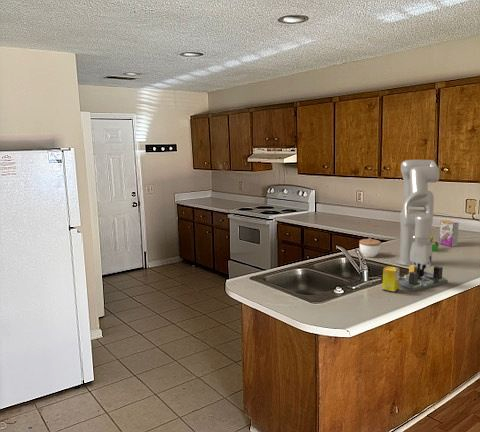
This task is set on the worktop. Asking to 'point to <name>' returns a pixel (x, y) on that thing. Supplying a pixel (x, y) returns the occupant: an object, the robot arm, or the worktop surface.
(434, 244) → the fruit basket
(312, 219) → the worktop surface
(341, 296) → the worktop surface
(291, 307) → the worktop surface
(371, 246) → the lidded bowl
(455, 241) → the candy bar box
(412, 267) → the handle
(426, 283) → the compartment sorting tray
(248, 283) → the worktop surface
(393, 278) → the supplement box
